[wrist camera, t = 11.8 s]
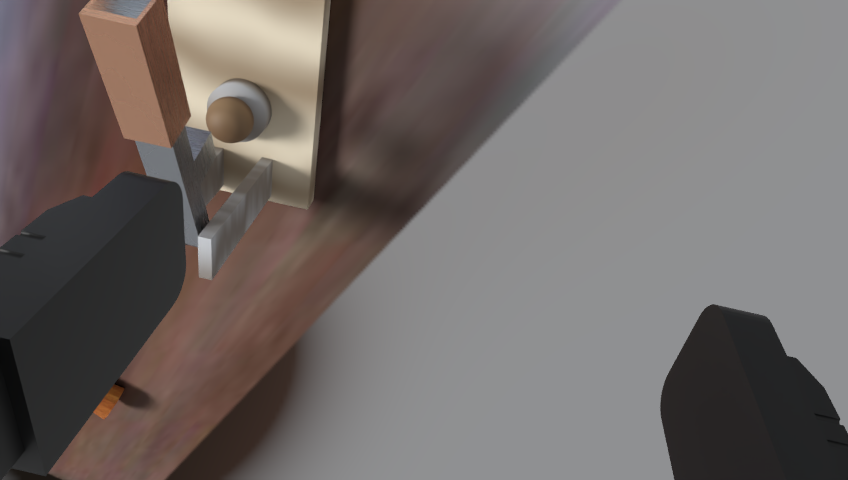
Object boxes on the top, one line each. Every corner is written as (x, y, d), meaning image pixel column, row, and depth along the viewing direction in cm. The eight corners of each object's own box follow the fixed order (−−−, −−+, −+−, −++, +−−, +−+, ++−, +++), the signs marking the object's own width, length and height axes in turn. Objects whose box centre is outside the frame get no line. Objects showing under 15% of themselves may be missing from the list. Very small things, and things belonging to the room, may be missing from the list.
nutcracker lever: (231, 207, 42) (205, 260, 39) (192, 198, 42) (163, 251, 39) (183, -31, 28) (138, 26, 26) (126, -43, 29) (76, 13, 26)
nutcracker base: (173, -126, 38) (44, -108, 28) (338, -91, 38) (268, -60, 28) (185, 170, 49) (97, 260, 39) (313, 199, 49) (257, 296, 39)
